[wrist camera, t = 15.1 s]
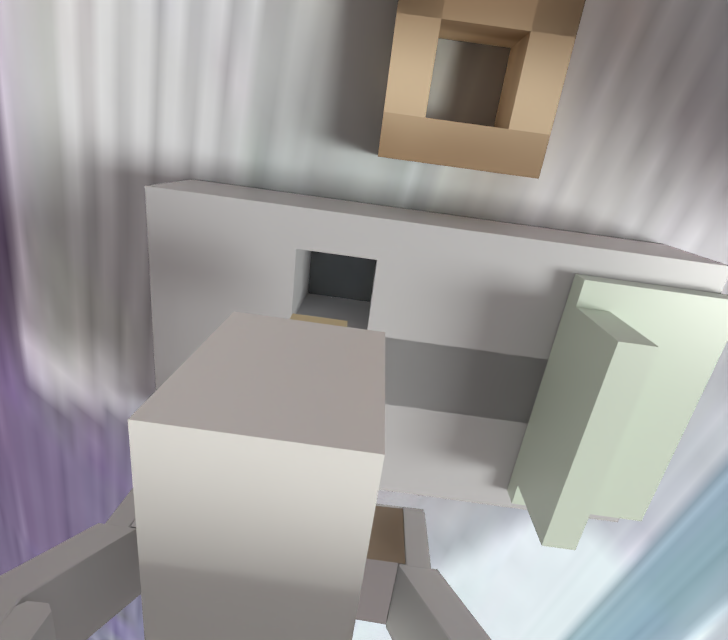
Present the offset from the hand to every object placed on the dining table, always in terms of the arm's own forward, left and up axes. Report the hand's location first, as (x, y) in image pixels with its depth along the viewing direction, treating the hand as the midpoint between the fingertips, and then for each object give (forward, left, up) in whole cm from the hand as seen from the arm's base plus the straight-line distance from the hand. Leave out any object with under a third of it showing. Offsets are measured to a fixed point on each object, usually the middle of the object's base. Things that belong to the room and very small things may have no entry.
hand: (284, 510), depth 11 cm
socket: (0, +3, -12) cm, 12 cm away
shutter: (0, +11, -8) cm, 14 cm away
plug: (0, 0, -4) cm, 4 cm away
